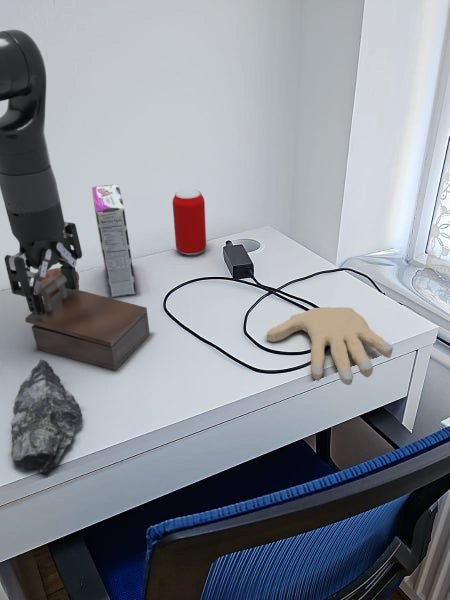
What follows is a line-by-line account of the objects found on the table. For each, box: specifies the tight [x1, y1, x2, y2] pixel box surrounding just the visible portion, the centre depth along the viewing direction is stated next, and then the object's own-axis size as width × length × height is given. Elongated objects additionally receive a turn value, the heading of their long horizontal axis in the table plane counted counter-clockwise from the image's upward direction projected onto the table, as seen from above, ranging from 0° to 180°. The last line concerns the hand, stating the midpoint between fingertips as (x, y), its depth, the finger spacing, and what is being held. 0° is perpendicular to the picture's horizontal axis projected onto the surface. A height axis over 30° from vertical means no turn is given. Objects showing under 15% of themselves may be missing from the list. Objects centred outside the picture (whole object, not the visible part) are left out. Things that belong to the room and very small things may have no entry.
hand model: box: [266, 306, 394, 386], centre depth 91 cm, size 19×5×20 cm
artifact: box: [40, 267, 80, 299], centre depth 102 cm, size 8×8×5 cm
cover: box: [24, 274, 148, 347], centre depth 89 cm, size 15×11×5 cm
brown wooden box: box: [31, 311, 150, 371], centre depth 93 cm, size 15×11×4 cm
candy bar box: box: [91, 184, 137, 298], centre depth 104 cm, size 11×5×16 cm, turn 13°
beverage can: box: [172, 188, 207, 256], centre depth 115 cm, size 6×6×12 cm
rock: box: [10, 358, 83, 474], centre depth 79 cm, size 9×22×4 cm, turn 15°
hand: (55, 300), depth 92 cm, fingers open, 8 cm apart
